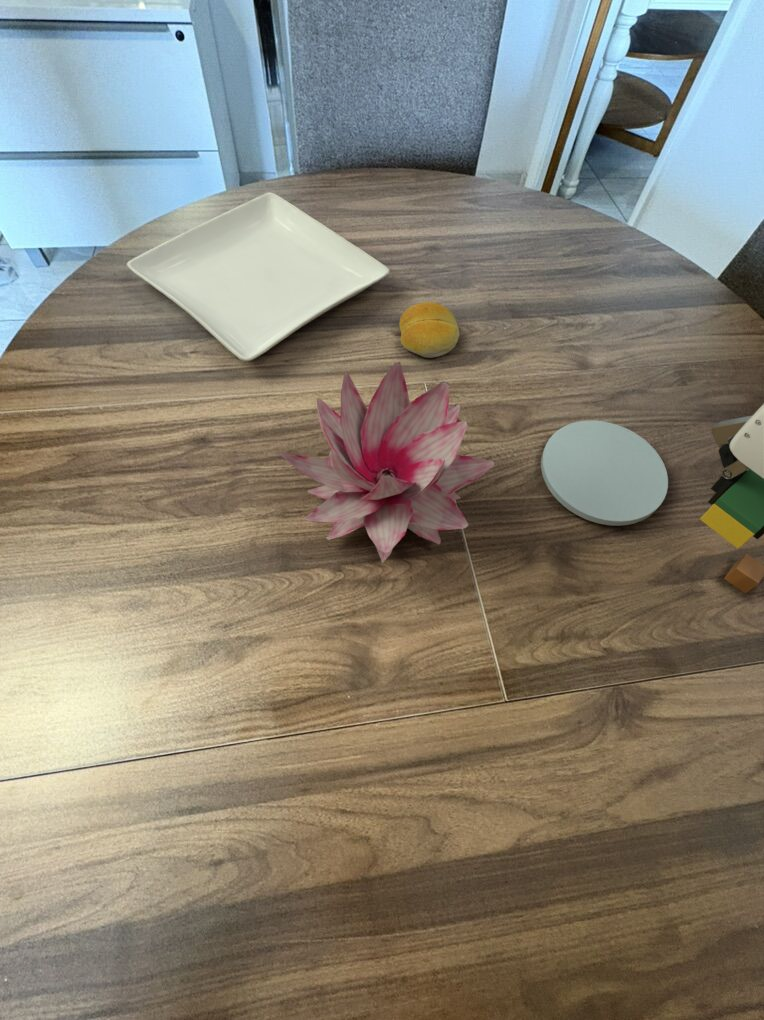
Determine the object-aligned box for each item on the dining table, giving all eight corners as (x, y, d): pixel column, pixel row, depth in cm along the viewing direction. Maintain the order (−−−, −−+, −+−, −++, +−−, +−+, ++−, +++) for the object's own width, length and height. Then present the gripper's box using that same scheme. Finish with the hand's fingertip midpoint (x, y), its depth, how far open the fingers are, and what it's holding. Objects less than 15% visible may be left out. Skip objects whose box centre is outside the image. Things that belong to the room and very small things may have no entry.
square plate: (272, 210, 101) (269, 187, 98) (391, 290, 92) (393, 268, 88) (129, 281, 90) (121, 258, 86) (249, 381, 80) (245, 359, 77)
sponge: (739, 480, 65) (760, 458, 62) (777, 507, 64) (800, 486, 60) (699, 519, 63) (719, 498, 59) (737, 549, 61) (760, 529, 58)
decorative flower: (334, 614, 64) (331, 543, 51) (265, 461, 74) (248, 370, 61) (509, 542, 69) (546, 462, 57) (423, 410, 79) (438, 316, 66)
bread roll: (402, 361, 84) (404, 338, 80) (397, 316, 89) (399, 293, 85) (461, 360, 84) (466, 338, 81) (453, 316, 89) (458, 293, 86)
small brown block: (746, 553, 67) (769, 567, 66) (733, 564, 69) (755, 578, 68) (736, 568, 66) (758, 583, 65) (723, 578, 68) (745, 593, 67)
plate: (590, 410, 81) (594, 402, 79) (686, 483, 75) (693, 475, 74) (514, 468, 75) (517, 460, 74) (612, 551, 69) (617, 544, 68)
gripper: (995, 432, 46) (833, 547, 61) (789, 311, 52) (690, 444, 68) (953, 486, 43) (795, 592, 58) (742, 351, 49) (650, 480, 65)
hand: (740, 512), depth 63 cm, fingers closed on sponge, 4 cm apart
